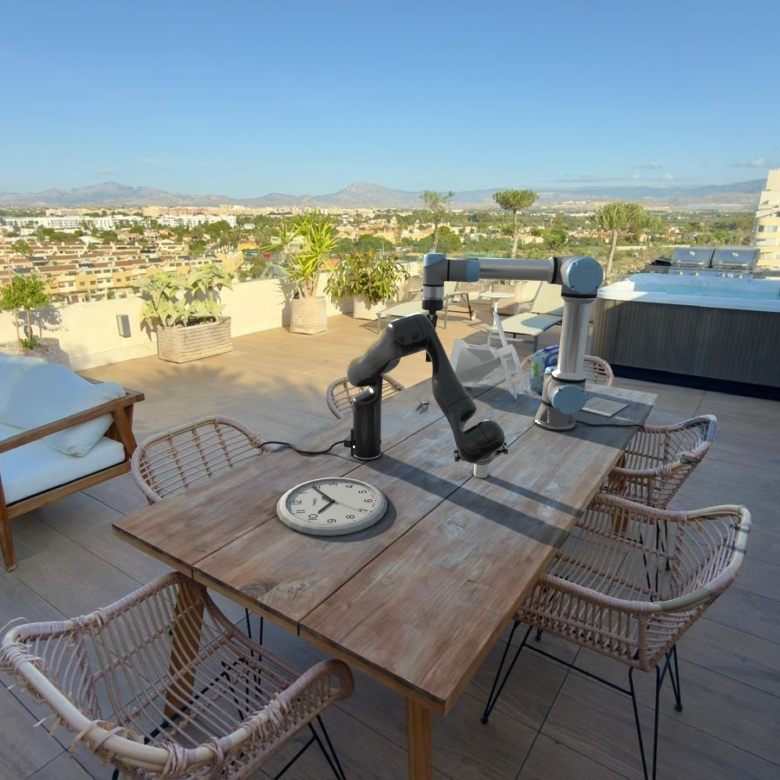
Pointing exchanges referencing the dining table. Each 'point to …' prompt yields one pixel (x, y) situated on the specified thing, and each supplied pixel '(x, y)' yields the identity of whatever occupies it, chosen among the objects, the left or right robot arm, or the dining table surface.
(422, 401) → the fork
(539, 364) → the lunch box
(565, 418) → the right robot arm
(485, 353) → the white plastic object
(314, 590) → the dining table surface
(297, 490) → the wall clock
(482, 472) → the jar
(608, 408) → the invitation card
